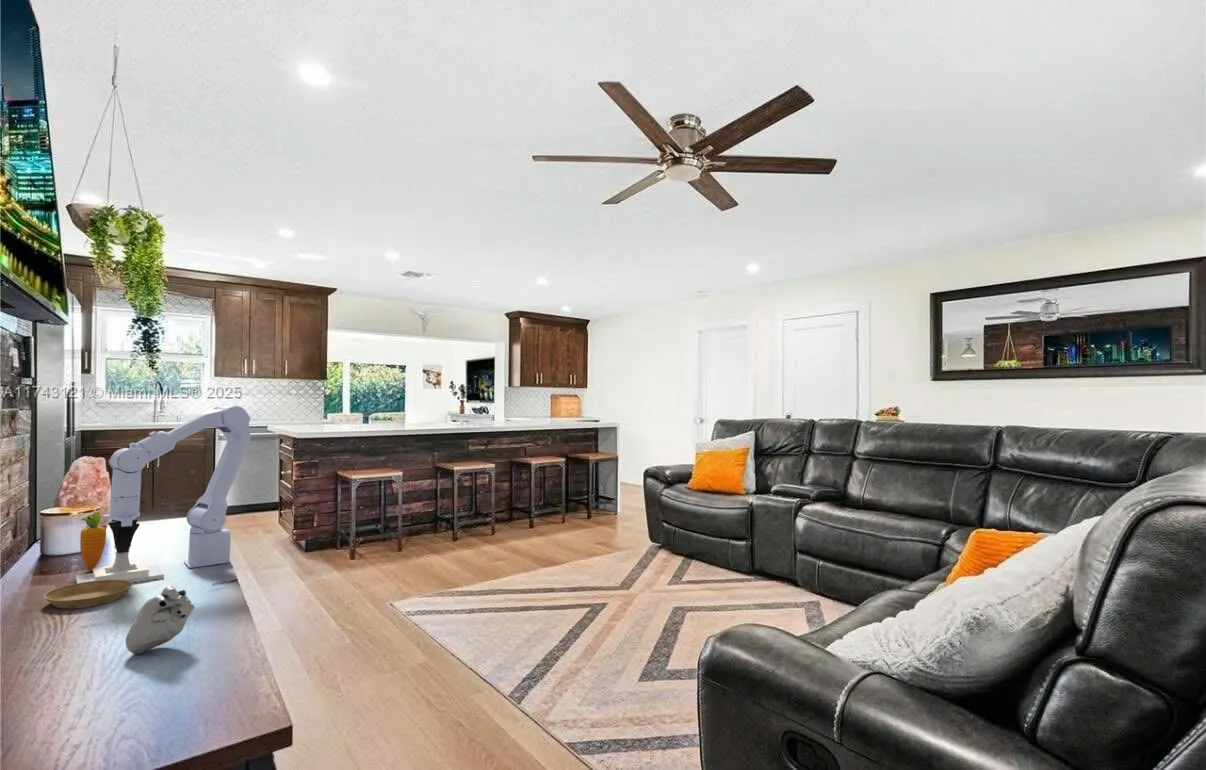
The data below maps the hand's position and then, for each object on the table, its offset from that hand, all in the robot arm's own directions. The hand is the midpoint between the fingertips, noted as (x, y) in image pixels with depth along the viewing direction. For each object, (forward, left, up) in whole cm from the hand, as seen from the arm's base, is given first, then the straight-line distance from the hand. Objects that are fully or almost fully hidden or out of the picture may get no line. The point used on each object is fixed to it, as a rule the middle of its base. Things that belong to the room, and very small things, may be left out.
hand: (122, 550), depth 143 cm
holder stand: (0, 0, -7) cm, 7 cm away
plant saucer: (+6, +15, -7) cm, 18 cm away
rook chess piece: (0, 0, -6) cm, 6 cm away
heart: (-1, +56, -7) cm, 56 cm away
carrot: (+5, -13, -7) cm, 16 cm away
